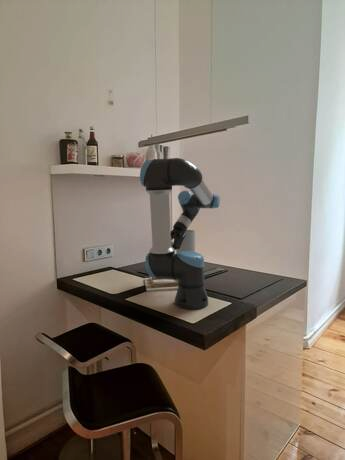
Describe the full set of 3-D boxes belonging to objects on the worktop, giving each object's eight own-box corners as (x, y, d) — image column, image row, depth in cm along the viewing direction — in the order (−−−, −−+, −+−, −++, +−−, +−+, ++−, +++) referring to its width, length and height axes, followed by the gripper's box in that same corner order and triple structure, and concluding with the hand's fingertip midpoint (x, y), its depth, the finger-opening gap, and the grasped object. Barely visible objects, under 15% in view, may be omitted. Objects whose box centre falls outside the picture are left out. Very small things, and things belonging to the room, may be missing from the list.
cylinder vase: (187, 265, 215) (187, 229, 212) (199, 268, 204) (198, 231, 201) (172, 267, 208) (172, 230, 205) (183, 271, 198) (183, 232, 195)
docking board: (188, 289, 161) (188, 283, 161) (146, 291, 158) (146, 285, 158) (181, 277, 183) (181, 272, 182) (144, 279, 179) (144, 274, 179)
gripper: (199, 231, 169) (177, 264, 160) (172, 227, 185) (152, 257, 177) (191, 222, 165) (169, 255, 156) (165, 219, 181) (144, 249, 173)
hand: (160, 256), depth 167 cm, fingers closed on disposable coffee cup, 9 cm apart
